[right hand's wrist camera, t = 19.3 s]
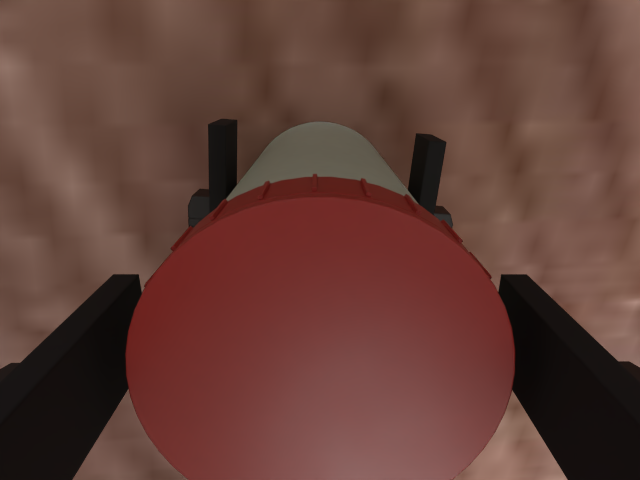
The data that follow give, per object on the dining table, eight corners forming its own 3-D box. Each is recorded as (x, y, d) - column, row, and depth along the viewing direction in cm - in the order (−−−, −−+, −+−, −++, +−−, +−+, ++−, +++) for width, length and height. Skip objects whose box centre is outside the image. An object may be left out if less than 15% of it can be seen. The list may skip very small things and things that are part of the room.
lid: (257, 502, 14) (247, 565, 13) (82, 270, 12) (36, 307, 10) (531, 398, 13) (566, 452, 11) (408, 104, 10) (429, 110, 8)
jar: (227, 156, 27) (76, 284, 10) (358, 97, 26) (429, 133, 9) (286, 273, 30) (244, 527, 13) (407, 225, 29) (532, 436, 12)
